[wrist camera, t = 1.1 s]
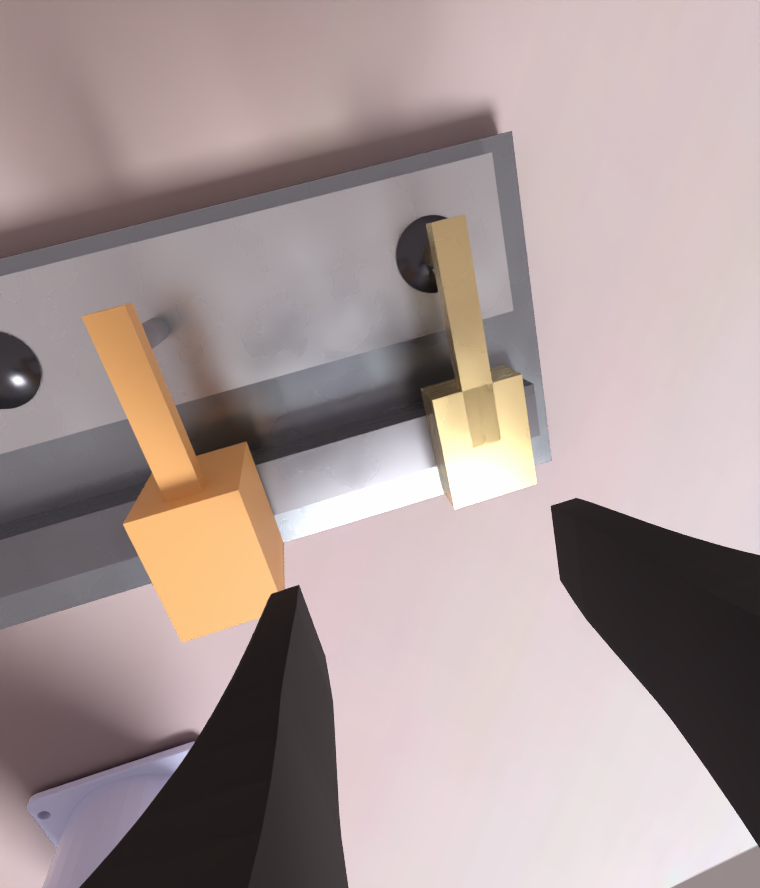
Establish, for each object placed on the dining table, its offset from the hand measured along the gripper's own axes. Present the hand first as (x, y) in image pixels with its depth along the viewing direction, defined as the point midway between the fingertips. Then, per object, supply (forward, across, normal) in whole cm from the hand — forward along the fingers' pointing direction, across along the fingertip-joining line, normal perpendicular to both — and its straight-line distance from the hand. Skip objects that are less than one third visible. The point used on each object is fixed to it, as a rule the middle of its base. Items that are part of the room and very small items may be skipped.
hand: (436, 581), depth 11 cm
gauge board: (+10, +8, -3) cm, 13 cm away
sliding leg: (+8, +5, -3) cm, 10 cm away
